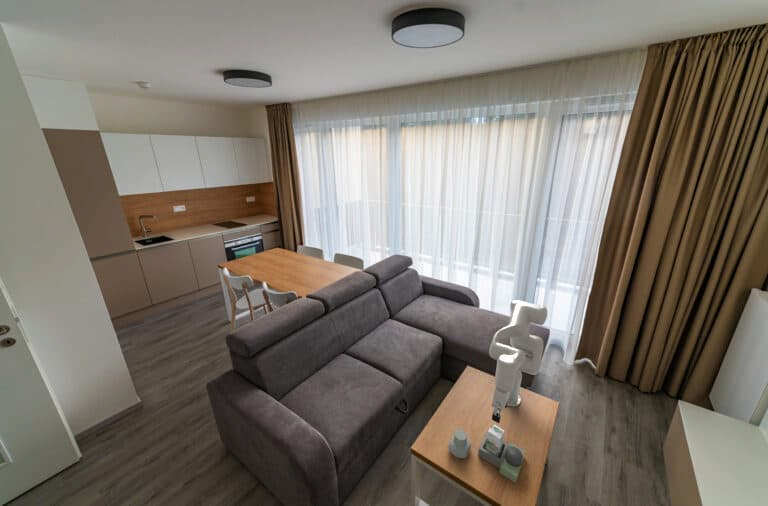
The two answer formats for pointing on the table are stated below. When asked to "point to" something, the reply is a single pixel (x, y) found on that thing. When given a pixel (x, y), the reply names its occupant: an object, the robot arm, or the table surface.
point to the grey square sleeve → (504, 459)
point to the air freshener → (459, 444)
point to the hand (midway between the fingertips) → (499, 413)
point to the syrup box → (494, 440)
